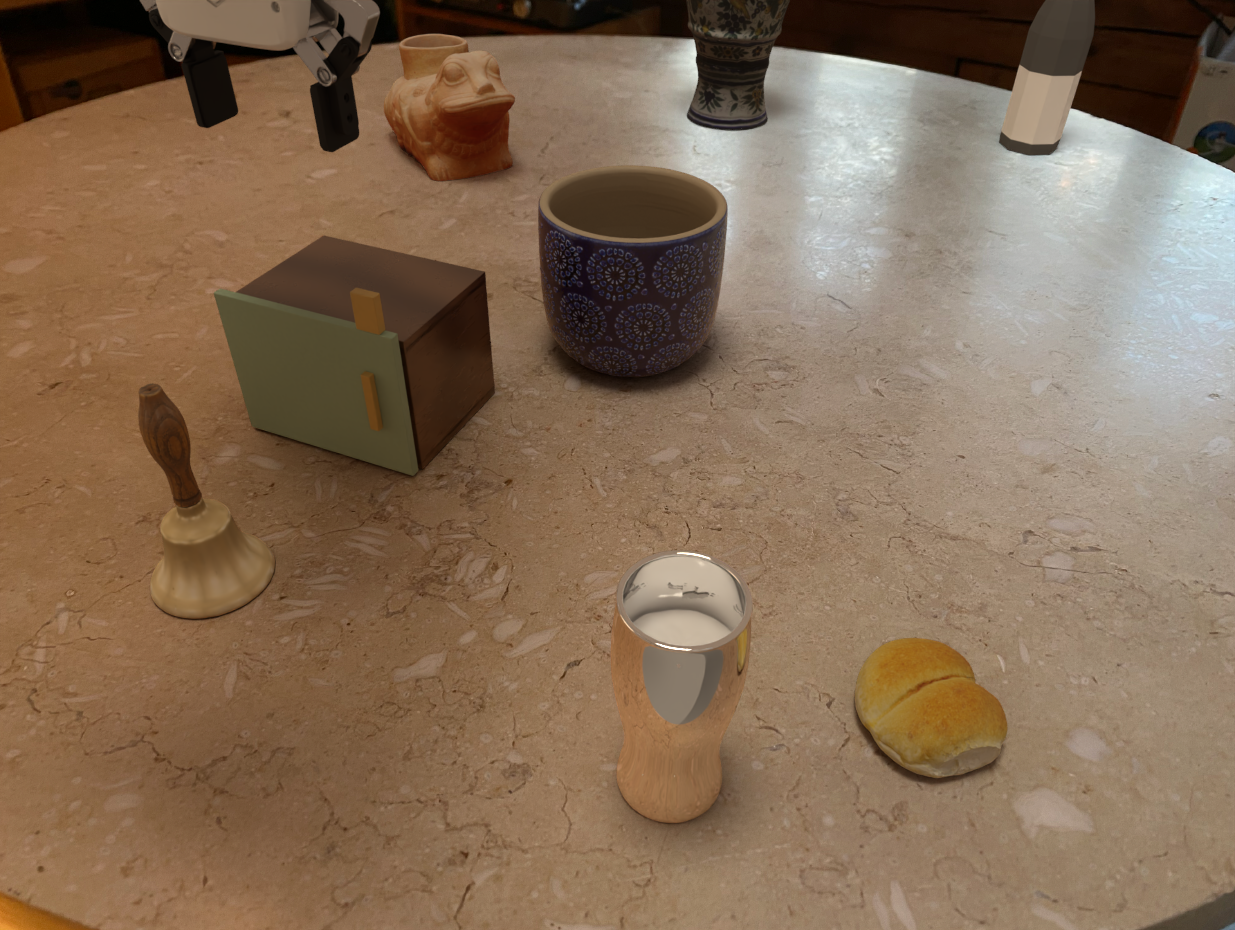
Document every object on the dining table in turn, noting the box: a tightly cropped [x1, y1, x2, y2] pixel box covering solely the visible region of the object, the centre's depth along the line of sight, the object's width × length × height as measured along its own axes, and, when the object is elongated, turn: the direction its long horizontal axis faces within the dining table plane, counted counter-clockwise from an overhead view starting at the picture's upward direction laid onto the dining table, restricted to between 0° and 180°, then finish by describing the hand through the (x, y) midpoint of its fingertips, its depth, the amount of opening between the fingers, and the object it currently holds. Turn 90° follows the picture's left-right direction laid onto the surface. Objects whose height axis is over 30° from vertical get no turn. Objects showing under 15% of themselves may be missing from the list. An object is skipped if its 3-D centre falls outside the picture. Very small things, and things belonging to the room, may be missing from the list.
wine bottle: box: [998, 0, 1096, 156], centre depth 125 cm, size 8×8×30 cm
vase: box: [685, 0, 791, 131], centre depth 133 cm, size 17×17×30 cm
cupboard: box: [235, 235, 496, 470], centre depth 78 cm, size 12×16×12 cm
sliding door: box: [213, 288, 419, 477], centre depth 72 cm, size 1×16×16 cm, turn 67°
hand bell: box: [137, 383, 276, 620], centre depth 61 cm, size 8×8×16 cm
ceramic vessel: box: [383, 33, 516, 182], centre depth 124 cm, size 14×26×15 cm, turn 30°
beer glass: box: [609, 549, 754, 824], centre depth 49 cm, size 7×7×15 cm
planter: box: [537, 164, 729, 378], centre depth 86 cm, size 17×17×15 cm
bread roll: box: [854, 637, 1008, 779], centre depth 56 cm, size 8×9×4 cm
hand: (278, 132), depth 60 cm, fingers open, 9 cm apart
